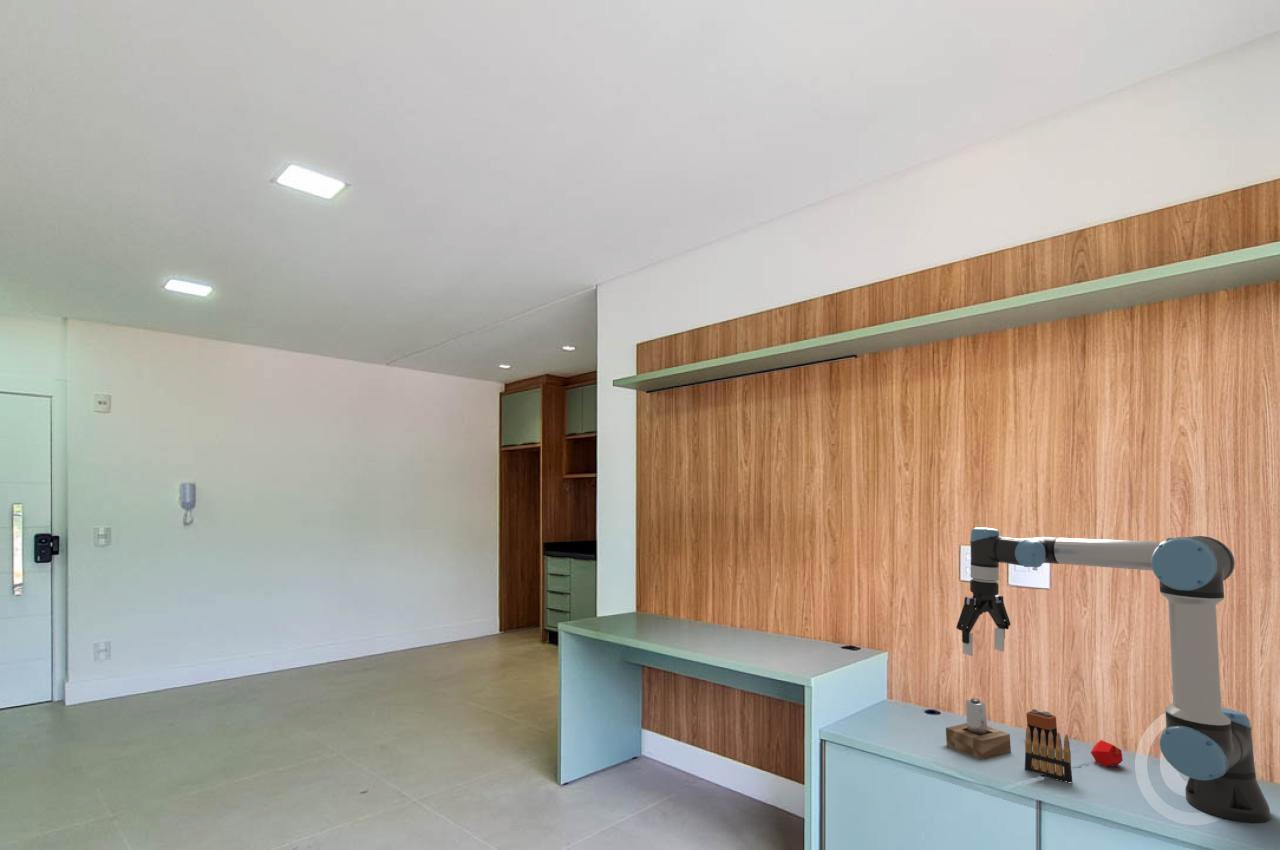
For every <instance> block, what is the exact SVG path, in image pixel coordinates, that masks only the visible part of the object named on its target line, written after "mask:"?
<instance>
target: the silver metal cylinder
mask: <svg viewBox="0 0 1280 850" xmlns="http://www.w3.org/2000/svg"><path fill="white" fill-rule="evenodd" d="M986 707H987V706H986V703H985V702H984V701H981V700H980V699H979V698H970V699H967V700H965V708H966V709H965V710H966V711H965V712H966V713H965V714H966V723H967V731H968V732H970V733H973V734H976V735H978V736H981V735H985V734H987V727H988V725H987V711H986V710H987V709H986Z"/></svg>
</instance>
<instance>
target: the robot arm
mask: <svg viewBox="0 0 1280 850" xmlns="http://www.w3.org/2000/svg"><path fill="white" fill-rule="evenodd" d="M969 544H970V575H969V576H970V578H971V579H970V580H969V582H970V583H969V591H970V592H971V593H972V597H969V596H965V597H964V602H963V606H962V608H961V609H962V610H961V612H960V615H959V618H958V620H957V621H958V622H957V623H956V624H957V625H956V630H959V631H961V641H962V654H964V655H967V656H969V657H973V651H974V650H973V648H974V647H973V645H974V644H973V640H974V638H973V637H974V633H973V632H972V630H973V628H974V626H975V625H976V623H977V621H978V619H979V617H980V615H983V613H987V612H988V614H989V616H990V617H991V619H992V621H993V622H994V624H995V625H996V626H994V648H993V650H996V651H999V652H1002V653H1003V652H1005V639H1006V630H1009V628H1010V626H1011V621H1010V619H1009V615H1008V613H1007V609H1006V606H1005V603H1004V596H1003V595H999V585H1000V583H999V582H998V581H999V580H1000V563H1002V564H1003V563H1004V564H1009V565H1015V566H1022V567H1024V568H1040V567H1041V566H1042V565H1043V564H1053V565H1054V564H1055V565H1057V564H1058V565H1070V566H1071V565H1072V566H1074V565H1075V566H1084V567H1085V566H1087V567H1097V568H1098V567H1099V568H1112V569H1128V570H1139V571H1140V570H1142V571H1153V573H1154V576H1155V577H1156V578H1157V579H1158V580H1159V581H1158V582H1159V583H1158V584H1159V585H1158V586H1159V593H1160V594H1161V595H1162V596H1163V597H1164V598H1165V599H1166V600H1167V603H1168V619H1169V621H1168V623H1169V638H1170V639H1169V641H1170V643H1169V644H1170V660H1171V661H1170V662H1171V683H1172V685H1171V686H1172V687H1171V688H1172V702H1171V703H1170V704H1169V705H1168V706H1166V707H1165V728H1166V729H1164V730H1163V731H1162V732H1161V735H1160V737H1159V747H1160V751H1161V753H1162V756H1163V757H1164V759H1165V761H1167V762H1168V763H1169V764H1170V766H1172V768H1174V769H1175V770H1176V771H1177V772H1178V773H1181V774H1182V775H1184V776H1186V777H1188V779H1187V783H1186V785H1185V789H1184V790H1185V800H1186V801H1187V803H1188V804H1190V805H1191V806H1193V807H1194V808H1196V809H1198V810H1200V811H1201V812H1205V813H1207V814H1210V815H1212V816H1216V817H1219V818H1223V819H1227V820H1230V821H1231V820H1232V821H1238V822H1243V823H1244V822H1246V823H1264V822H1265V823H1266V822H1268V821H1269V820H1270V819H1271V810H1270V809H1271V808H1270V805H1269V804H1268V801H1267V799H1266V797H1265V795H1264V793H1263V791H1262V790H1261V789H1262V788H1261V787H1260V785H1259V783H1258V781H1257V775H1256V774H1257V773H1256V764H1255V756H1254V755H1255V754H1254V748H1253V738H1252V737H1253V736H1252V729H1253V728H1252V725H1251V722H1250V718H1249V717H1248V715H1247V714H1245V713H1244V712H1241V711H1238V710H1234V709H1230V708H1226V707H1222V699H1221V698H1222V696H1221V694H1222V692H1221V676H1220V659H1219V658H1220V656H1219V638H1218V624H1217V623H1218V621H1217V618H1218V617H1217V605H1218V604H1220V602H1222V601H1224V599H1225V593H1224V592H1225V589H1224V588H1225V587H1224V582H1225V580H1227V579H1228V578H1229V577H1231V575H1232V574H1233V572H1234V571H1235V565H1236V562H1235V556H1234V555H1233V552H1232V550H1230V548H1229V547H1228V546H1227V545H1226V544H1225V543H1223V542H1222V541H1220V540H1218V539H1216V538H1213V537H1210V536H1204V535H1195V536H1184V537H1183V536H1177V537H1170V538H1169V537H1167V538H1165V539H1164V540H1163V541H1153V540H1152V541H1151V540H1129V539H1128V540H1124V539H1102V538H1100V539H1099V538H1071V537H1070V538H1069V537H1052V536H1047V535H1045V536H1044V535H1043V536H1042V535H1041V536H1036V537H1022V538H1015V537H1005V536H1001V535H1000V532H999V529H997V528H992V527H981V526H979V527H973V528H972V529H971V532H970V541H969Z"/></svg>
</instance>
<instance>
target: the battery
mask: <svg viewBox="0 0 1280 850" xmlns="http://www.w3.org/2000/svg"><path fill="white" fill-rule="evenodd" d="M1025 714H1026V727H1027V726H1029V728H1030V732H1031V741H1032V743H1033V732H1034V729H1035V727H1036V729H1037V732H1038V739H1039V745H1040V742H1041V731H1042V729H1044V732H1045V736H1046V745H1047V747H1048V736H1049V732H1050V731H1051V732H1052V735H1053V742H1054V748H1056V737H1057V733H1058V728H1057V727H1058V726H1057V716H1056V715H1055V714H1054V715H1053V714H1052V713H1051V712H1049V711H1046V710H1045V711H1038V709H1035V708H1032V709H1031V711H1028V712H1026V713H1025Z"/></svg>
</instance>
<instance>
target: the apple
mask: <svg viewBox="0 0 1280 850" xmlns="http://www.w3.org/2000/svg"><path fill="white" fill-rule="evenodd" d="M1090 754H1091V755H1092V757H1093V759H1094V760H1095V763H1097V762H1098V763H1097V764H1099V763H1100V764H1099V765H1101V764H1102V765H1103V767H1104V766H1107V767H1113V766H1112V765H1115V766H1118V765H1119V764H1121V763H1122V762H1124V760H1123V753H1122V749H1120V748H1118V747H1117V746H1115V745H1114V744H1112V743H1110V742H1107V741H1105V740H1102V739H1101V740H1099V741H1097V742H1096V744H1095V745H1094V746H1093V748H1092V749H1091V751H1090ZM1102 765H1101V766H1102Z"/></svg>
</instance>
